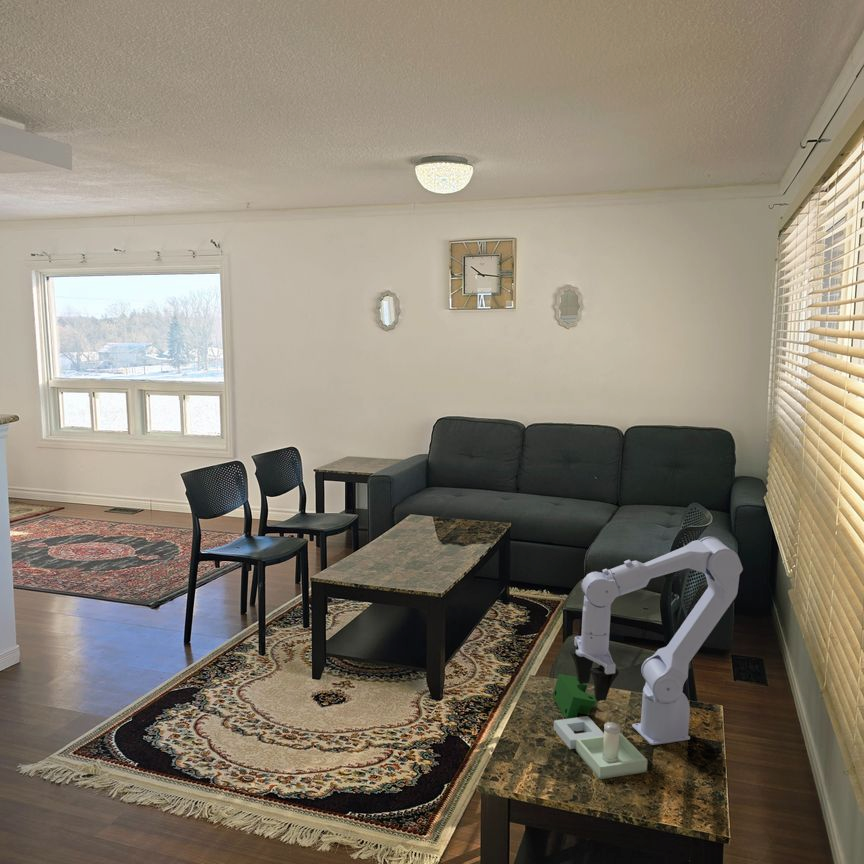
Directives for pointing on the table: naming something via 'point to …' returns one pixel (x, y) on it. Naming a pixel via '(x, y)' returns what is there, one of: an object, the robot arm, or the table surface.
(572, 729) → the grey square frame
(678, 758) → the table surface
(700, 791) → the table surface
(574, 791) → the table surface
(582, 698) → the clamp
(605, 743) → the cylinder
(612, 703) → the table surface
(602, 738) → the parts tray
